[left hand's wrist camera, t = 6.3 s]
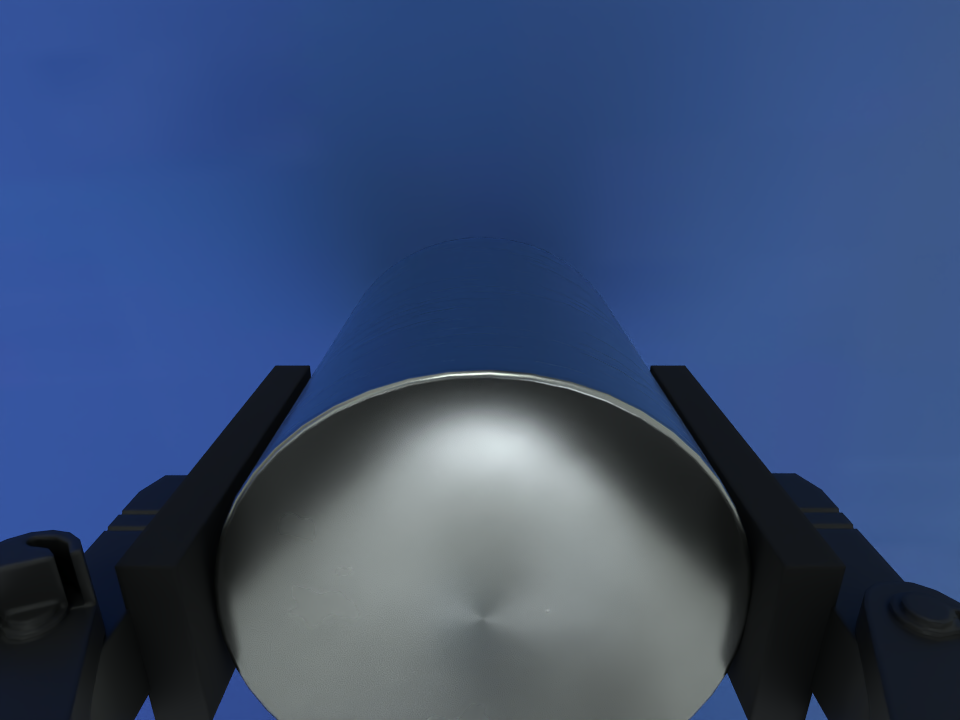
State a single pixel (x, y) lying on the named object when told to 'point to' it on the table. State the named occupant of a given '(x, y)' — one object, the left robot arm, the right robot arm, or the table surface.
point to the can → (482, 515)
